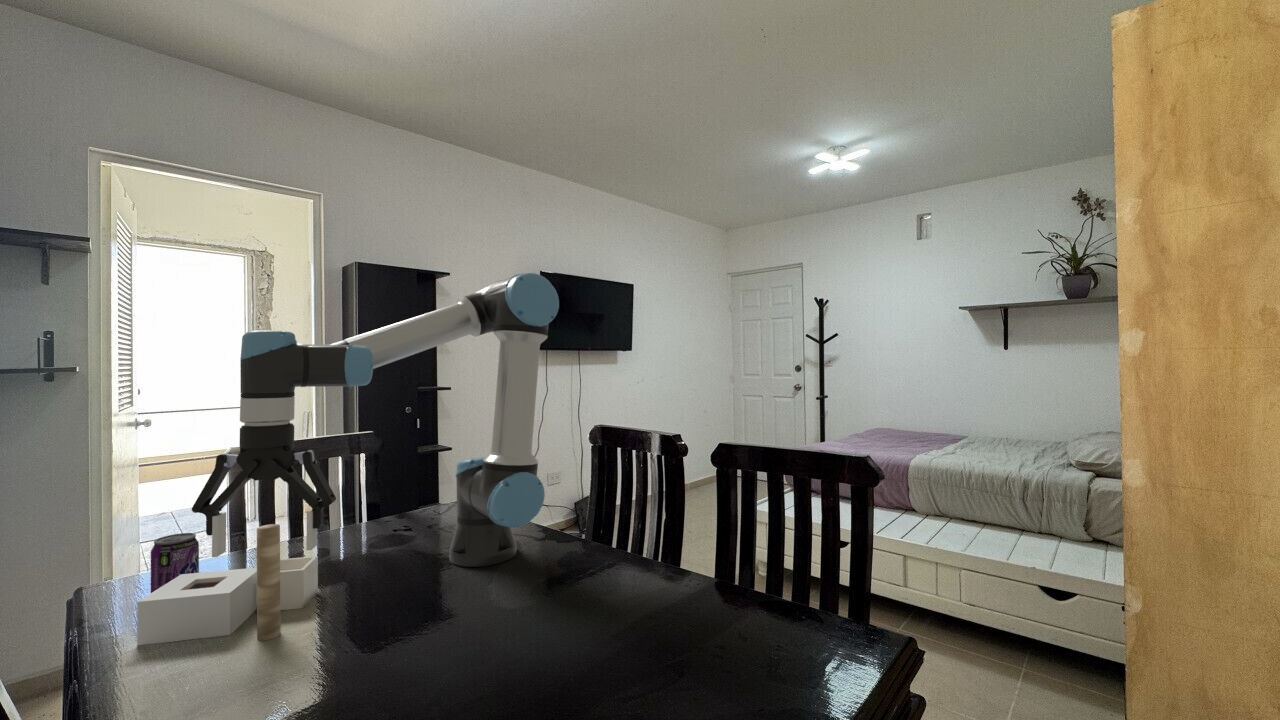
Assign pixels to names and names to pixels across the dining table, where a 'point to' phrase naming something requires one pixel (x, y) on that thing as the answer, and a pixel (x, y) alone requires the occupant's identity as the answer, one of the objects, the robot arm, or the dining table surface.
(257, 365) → the robot arm
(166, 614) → the box
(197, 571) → the beverage can
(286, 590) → the pen cup
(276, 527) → the wooden cylinder rod
